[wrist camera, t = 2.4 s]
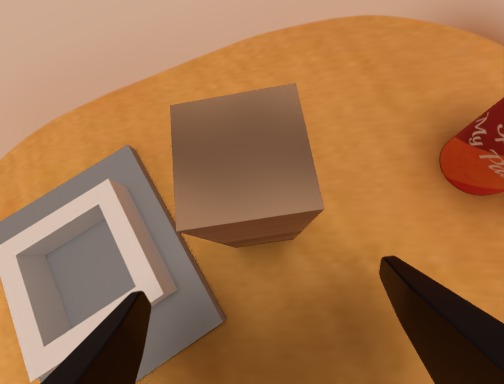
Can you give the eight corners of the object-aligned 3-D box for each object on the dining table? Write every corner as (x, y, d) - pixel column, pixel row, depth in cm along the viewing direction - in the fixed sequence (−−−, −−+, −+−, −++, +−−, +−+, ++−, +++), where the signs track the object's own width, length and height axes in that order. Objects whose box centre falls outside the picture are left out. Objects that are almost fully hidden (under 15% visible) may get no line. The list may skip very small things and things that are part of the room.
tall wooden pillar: (293, 239, 20) (323, 209, 8) (235, 247, 21) (176, 231, 8) (283, 183, 22) (295, 82, 9) (229, 192, 22) (169, 105, 9)
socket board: (226, 318, 19) (215, 331, 16) (70, 425, 18) (20, 466, 15) (134, 149, 24) (110, 131, 20) (8, 226, 23) (-41, 221, 19)
